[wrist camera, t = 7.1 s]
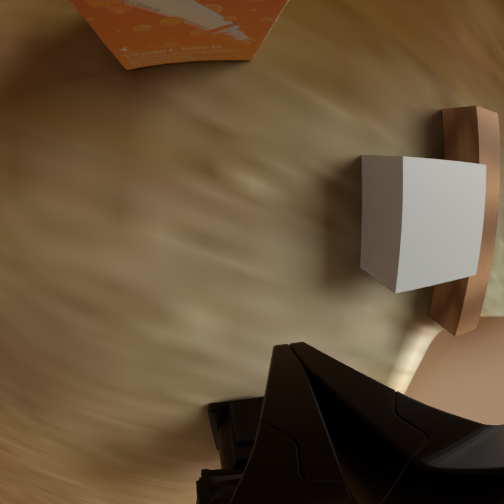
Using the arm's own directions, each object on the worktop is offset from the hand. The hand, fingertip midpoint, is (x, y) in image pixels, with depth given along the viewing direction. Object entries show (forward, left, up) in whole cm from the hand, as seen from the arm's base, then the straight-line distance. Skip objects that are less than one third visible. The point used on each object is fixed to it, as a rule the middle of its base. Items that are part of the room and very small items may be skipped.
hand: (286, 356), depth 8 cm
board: (+1, -18, -12) cm, 22 cm away
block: (+2, -13, -12) cm, 18 cm away
